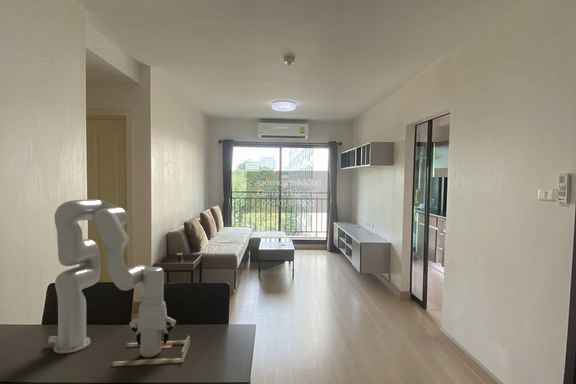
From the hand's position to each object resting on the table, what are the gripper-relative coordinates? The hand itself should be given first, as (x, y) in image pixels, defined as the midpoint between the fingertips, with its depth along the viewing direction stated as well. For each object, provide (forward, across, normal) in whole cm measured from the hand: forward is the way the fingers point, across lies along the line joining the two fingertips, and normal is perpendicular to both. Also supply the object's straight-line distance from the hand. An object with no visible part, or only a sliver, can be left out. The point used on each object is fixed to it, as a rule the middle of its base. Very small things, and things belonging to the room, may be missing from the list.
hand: (152, 342), depth 127 cm
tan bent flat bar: (+4, 0, 0) cm, 4 cm away
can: (+4, -1, 0) cm, 5 cm away
